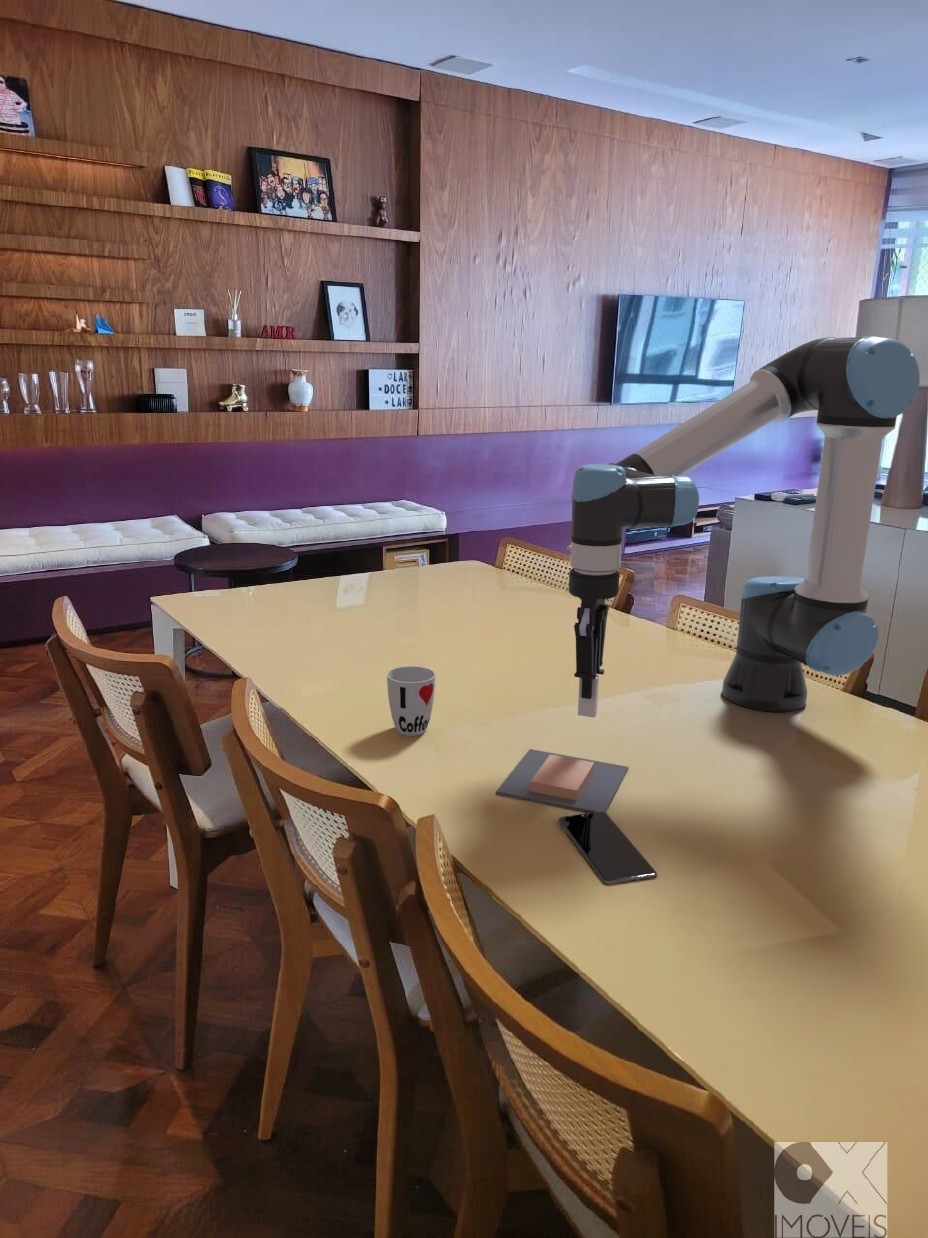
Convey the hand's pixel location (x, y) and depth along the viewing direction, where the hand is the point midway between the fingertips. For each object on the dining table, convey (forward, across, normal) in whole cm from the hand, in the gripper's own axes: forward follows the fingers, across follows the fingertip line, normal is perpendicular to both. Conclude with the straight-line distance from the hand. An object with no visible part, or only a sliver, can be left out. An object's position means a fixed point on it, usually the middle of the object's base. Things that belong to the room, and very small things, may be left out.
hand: (587, 714), depth 143 cm
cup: (+7, +2, -30) cm, 30 cm away
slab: (+6, +6, -1) cm, 9 cm away
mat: (+7, +10, -1) cm, 13 cm away
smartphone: (+7, +27, +9) cm, 29 cm away
